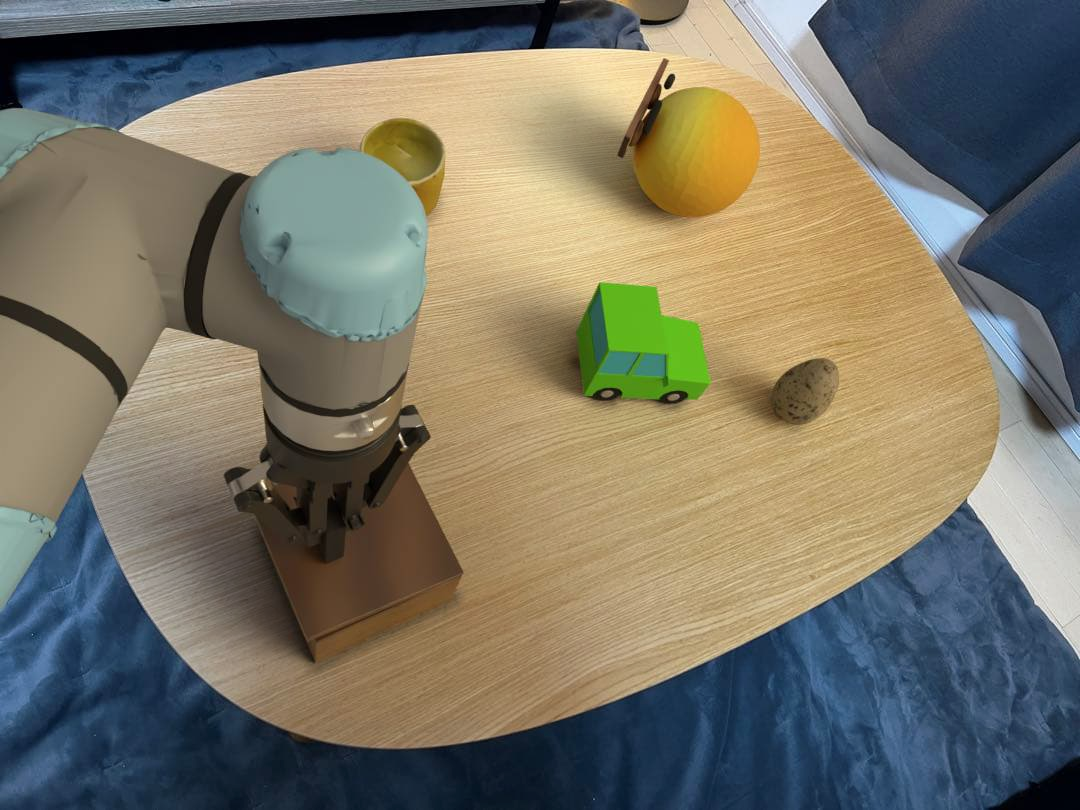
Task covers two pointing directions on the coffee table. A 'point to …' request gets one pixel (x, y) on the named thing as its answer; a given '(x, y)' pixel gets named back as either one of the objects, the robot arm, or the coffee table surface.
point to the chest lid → (365, 561)
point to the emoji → (692, 148)
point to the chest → (378, 621)
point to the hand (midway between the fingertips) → (327, 545)
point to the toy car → (639, 348)
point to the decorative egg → (805, 391)
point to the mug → (410, 155)
